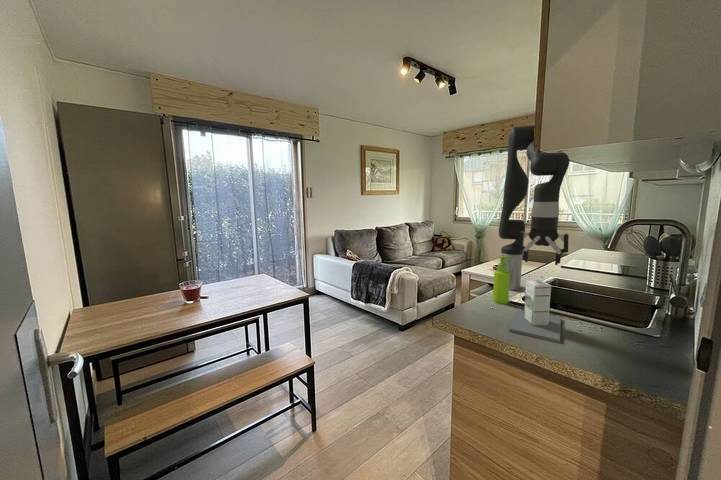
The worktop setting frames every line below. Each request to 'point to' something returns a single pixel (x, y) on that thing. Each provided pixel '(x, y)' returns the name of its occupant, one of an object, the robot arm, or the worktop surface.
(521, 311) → the slate mat
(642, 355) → the worktop surface
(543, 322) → the syrup box
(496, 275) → the soap dispenser
